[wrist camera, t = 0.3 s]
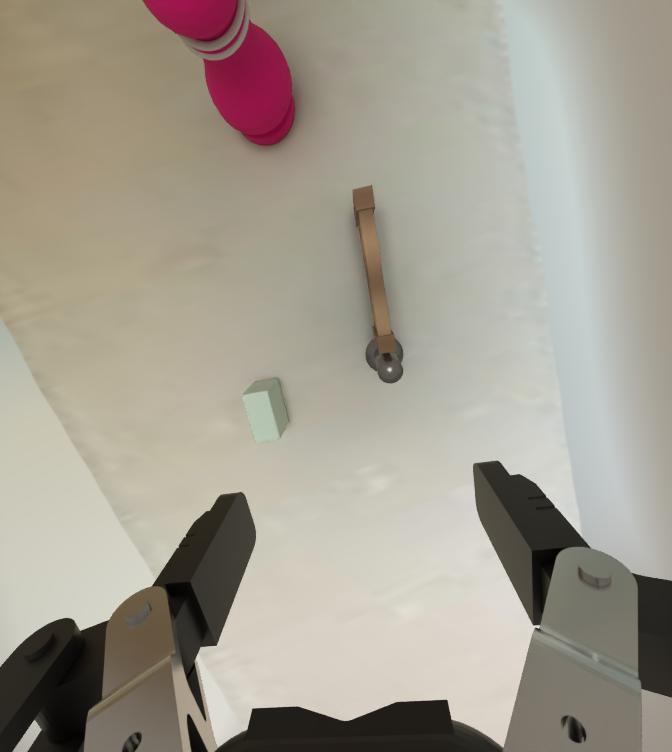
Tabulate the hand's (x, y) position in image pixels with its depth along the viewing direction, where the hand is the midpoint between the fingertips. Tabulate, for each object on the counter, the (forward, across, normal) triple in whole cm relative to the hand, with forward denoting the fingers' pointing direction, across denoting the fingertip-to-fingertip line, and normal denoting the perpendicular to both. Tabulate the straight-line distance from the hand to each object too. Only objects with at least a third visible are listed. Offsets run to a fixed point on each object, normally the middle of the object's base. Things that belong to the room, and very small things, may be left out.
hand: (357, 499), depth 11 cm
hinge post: (+29, -3, +2) cm, 29 cm away
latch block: (+29, +12, +6) cm, 32 cm away
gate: (+28, -3, -7) cm, 29 cm away
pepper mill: (+29, +5, -25) cm, 39 cm away
